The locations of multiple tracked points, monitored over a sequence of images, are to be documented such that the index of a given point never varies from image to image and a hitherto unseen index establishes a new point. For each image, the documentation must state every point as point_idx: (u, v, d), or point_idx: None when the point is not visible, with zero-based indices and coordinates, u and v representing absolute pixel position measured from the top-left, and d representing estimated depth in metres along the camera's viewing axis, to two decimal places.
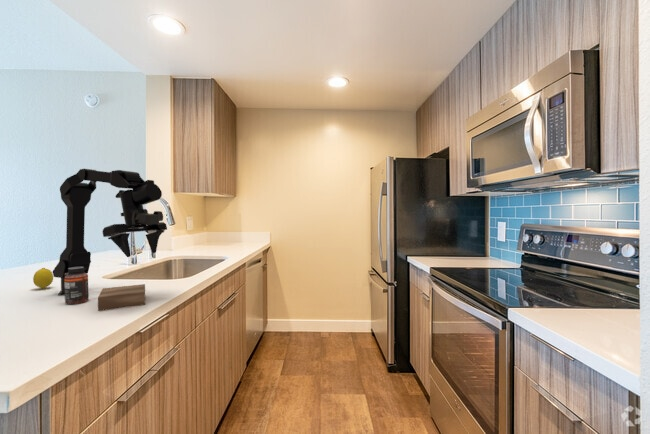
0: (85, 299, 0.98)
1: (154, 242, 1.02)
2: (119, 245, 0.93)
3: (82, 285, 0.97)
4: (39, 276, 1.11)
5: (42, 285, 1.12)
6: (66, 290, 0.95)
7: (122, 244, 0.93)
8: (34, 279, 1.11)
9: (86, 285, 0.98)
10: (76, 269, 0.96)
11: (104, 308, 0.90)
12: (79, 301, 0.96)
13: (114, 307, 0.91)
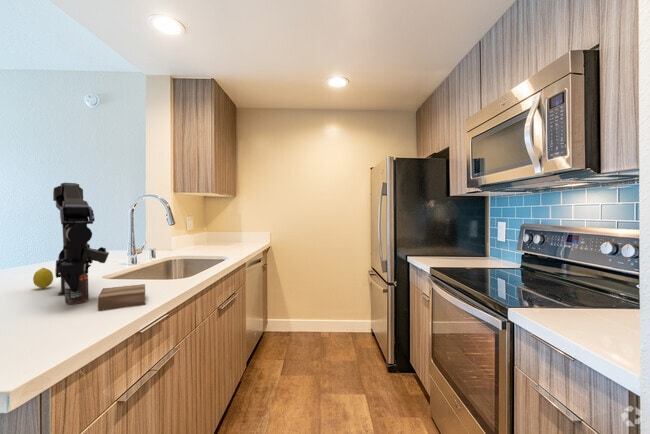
0: (85, 299, 0.98)
1: None
2: (68, 280, 0.93)
3: (83, 285, 0.97)
4: (39, 276, 1.11)
5: (42, 285, 1.12)
6: (66, 290, 0.95)
7: (73, 280, 0.94)
8: (34, 278, 1.11)
9: (86, 285, 0.98)
10: None
11: (104, 308, 0.90)
12: (79, 301, 0.96)
13: (114, 307, 0.91)
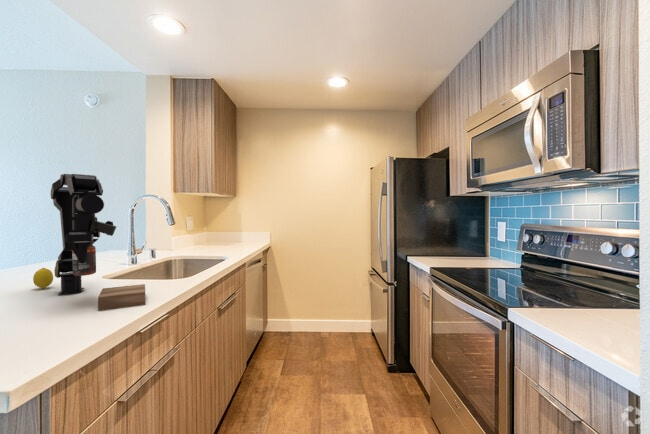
0: (93, 271, 0.97)
1: None
2: (76, 251, 0.93)
3: (90, 257, 0.96)
4: (39, 276, 1.11)
5: (42, 285, 1.12)
6: (74, 261, 0.95)
7: (81, 250, 0.93)
8: (34, 278, 1.11)
9: (94, 257, 0.98)
10: None
11: (104, 308, 0.90)
12: (87, 273, 0.96)
13: (114, 307, 0.91)
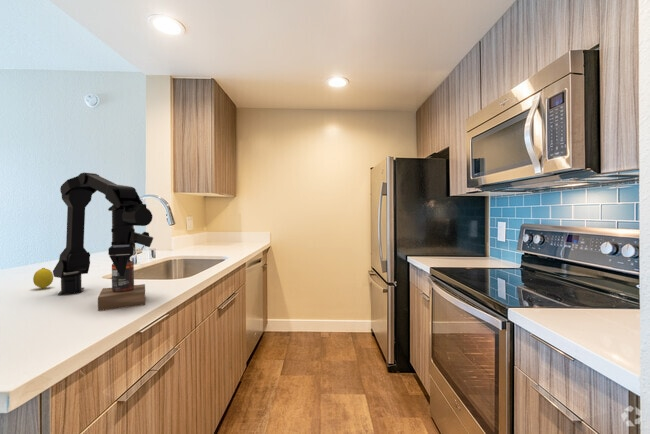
0: (131, 287, 0.97)
1: None
2: (116, 264, 0.92)
3: (129, 273, 0.97)
4: (39, 276, 1.11)
5: (42, 285, 1.12)
6: (114, 277, 0.95)
7: (121, 263, 0.92)
8: (34, 278, 1.11)
9: (132, 273, 0.98)
10: None
11: (104, 308, 0.90)
12: (126, 289, 0.96)
13: (114, 307, 0.91)
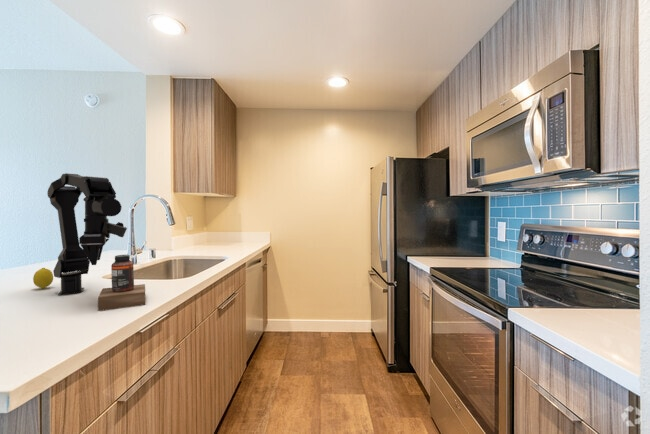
0: (131, 287, 0.97)
1: (100, 250, 1.04)
2: (88, 253, 0.94)
3: (129, 273, 0.96)
4: (39, 276, 1.11)
5: (42, 285, 1.12)
6: (113, 278, 0.95)
7: (93, 252, 0.94)
8: (34, 279, 1.11)
9: (132, 273, 0.98)
10: (123, 257, 0.96)
11: (104, 308, 0.90)
12: (126, 289, 0.96)
13: (114, 307, 0.91)
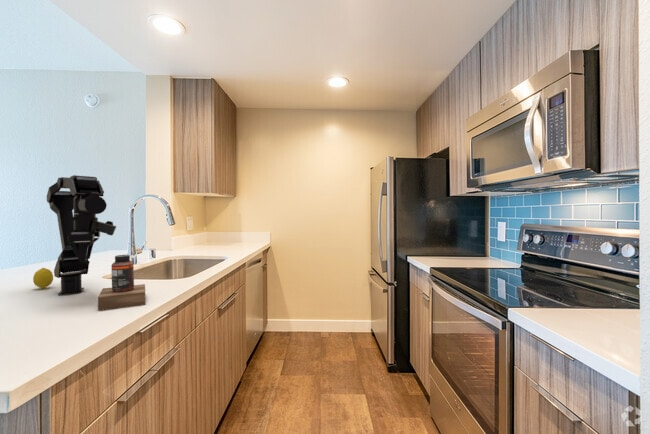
0: (131, 287, 0.97)
1: (90, 248, 1.05)
2: (77, 251, 0.94)
3: (129, 273, 0.96)
4: (39, 276, 1.11)
5: (42, 285, 1.12)
6: (113, 278, 0.95)
7: (81, 250, 0.95)
8: (34, 278, 1.11)
9: (132, 273, 0.98)
10: (123, 257, 0.96)
11: (104, 308, 0.90)
12: (126, 289, 0.96)
13: (114, 307, 0.91)
